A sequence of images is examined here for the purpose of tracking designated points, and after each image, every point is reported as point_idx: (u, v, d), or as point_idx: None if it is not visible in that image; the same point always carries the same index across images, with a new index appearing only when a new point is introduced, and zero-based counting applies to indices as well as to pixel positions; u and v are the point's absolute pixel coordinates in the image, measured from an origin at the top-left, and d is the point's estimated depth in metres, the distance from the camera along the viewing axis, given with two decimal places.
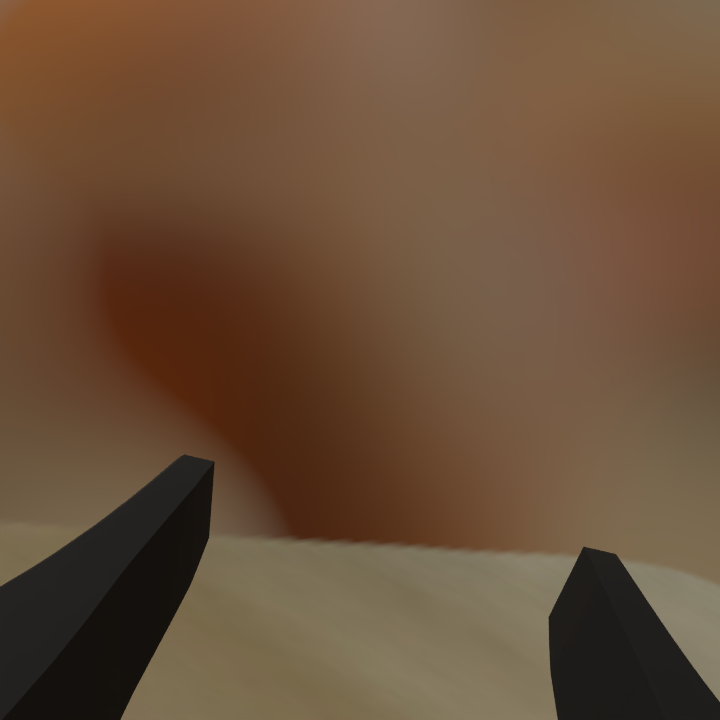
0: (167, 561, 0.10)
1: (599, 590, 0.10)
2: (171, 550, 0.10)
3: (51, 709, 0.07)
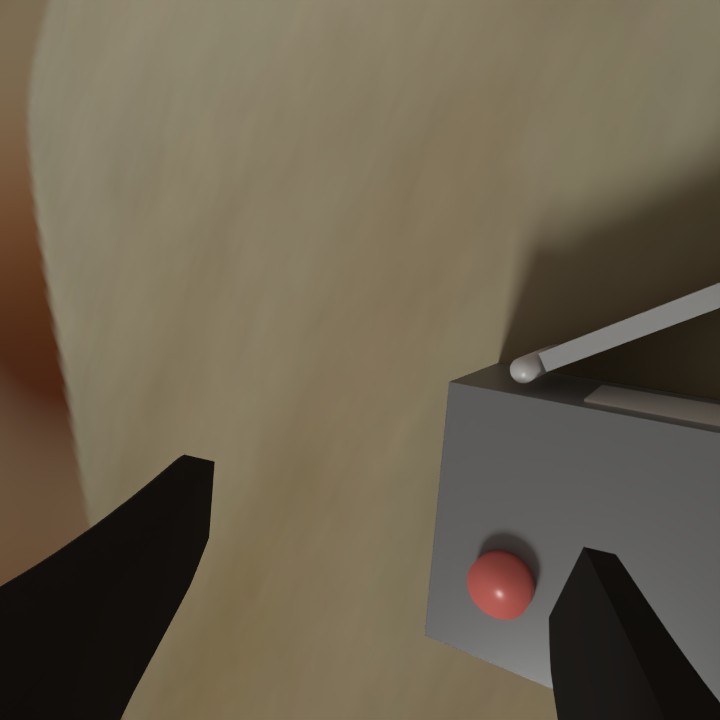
0: (167, 561, 0.10)
1: (599, 590, 0.10)
2: (171, 550, 0.10)
3: (51, 709, 0.07)
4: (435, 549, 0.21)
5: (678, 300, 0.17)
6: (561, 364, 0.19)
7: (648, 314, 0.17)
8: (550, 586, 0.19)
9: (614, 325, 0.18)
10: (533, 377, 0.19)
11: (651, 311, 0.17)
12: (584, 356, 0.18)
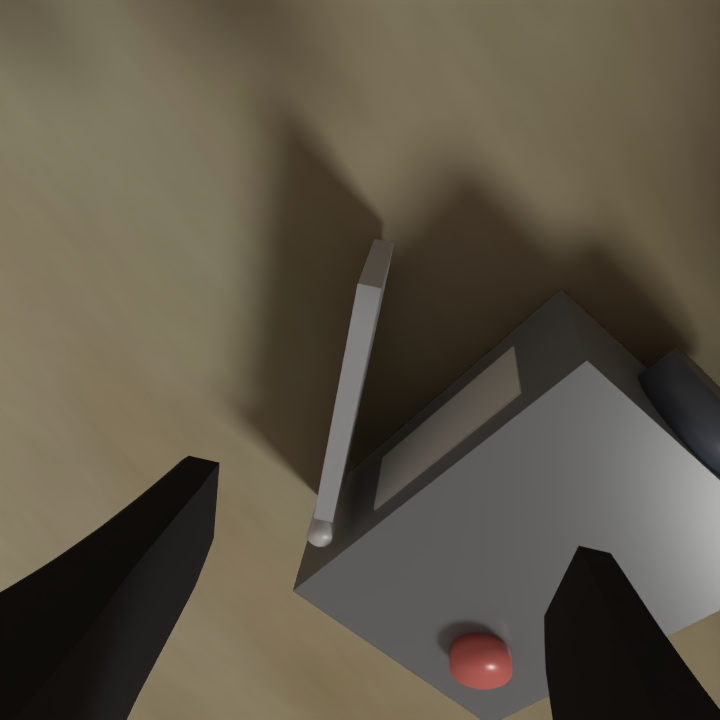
0: (172, 563, 0.10)
1: (594, 589, 0.10)
2: (176, 551, 0.10)
3: (60, 712, 0.07)
4: (424, 678, 0.22)
5: (334, 412, 0.18)
6: (333, 510, 0.19)
7: (332, 436, 0.18)
8: (505, 629, 0.20)
9: (325, 461, 0.18)
10: (330, 534, 0.20)
11: (331, 433, 0.18)
12: (337, 493, 0.19)
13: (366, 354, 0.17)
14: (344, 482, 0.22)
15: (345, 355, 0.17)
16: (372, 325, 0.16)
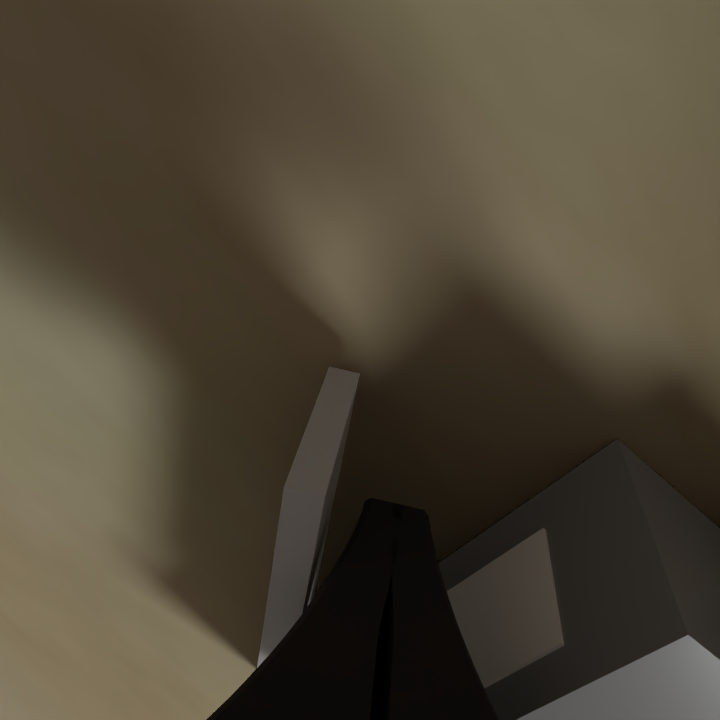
0: None
1: None
2: None
3: None
4: None
5: (260, 658, 0.11)
6: None
7: None
8: None
9: None
10: None
11: None
12: None
13: (305, 586, 0.10)
14: None
15: (271, 585, 0.10)
16: (312, 548, 0.09)
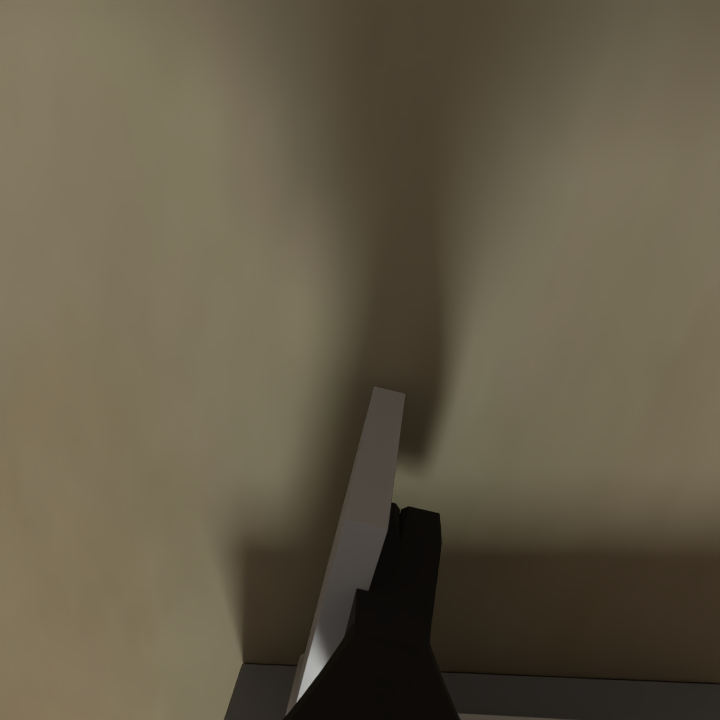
0: None
1: None
2: None
3: None
4: None
5: (302, 686, 0.11)
6: None
7: None
8: None
9: None
10: None
11: None
12: None
13: None
14: None
15: (321, 615, 0.10)
16: (369, 580, 0.09)
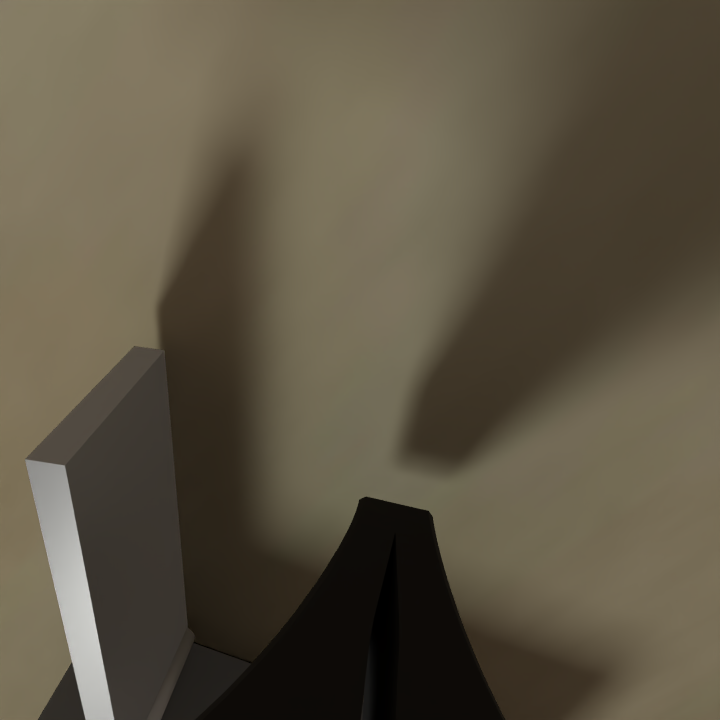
0: None
1: (393, 542, 0.11)
2: None
3: None
4: None
5: (69, 637, 0.11)
6: None
7: (79, 667, 0.11)
8: None
9: (82, 698, 0.12)
10: None
11: (75, 664, 0.11)
12: None
13: (82, 559, 0.10)
14: (173, 676, 0.15)
15: (51, 561, 0.10)
16: (73, 519, 0.09)
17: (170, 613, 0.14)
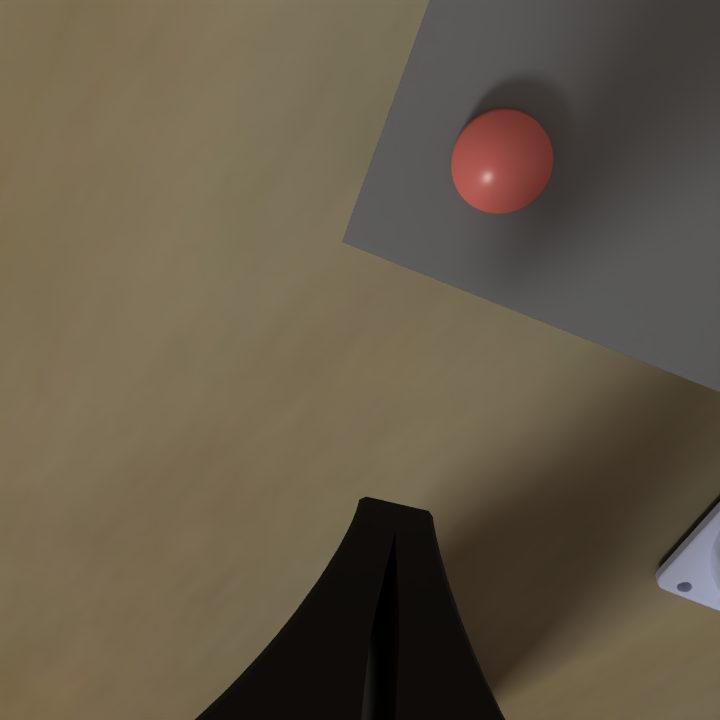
0: None
1: (394, 542, 0.11)
2: None
3: None
4: (397, 102, 0.13)
5: None
6: None
7: None
8: (570, 169, 0.13)
9: None
10: None
11: None
12: None
13: None
14: None
15: None
16: None
17: None
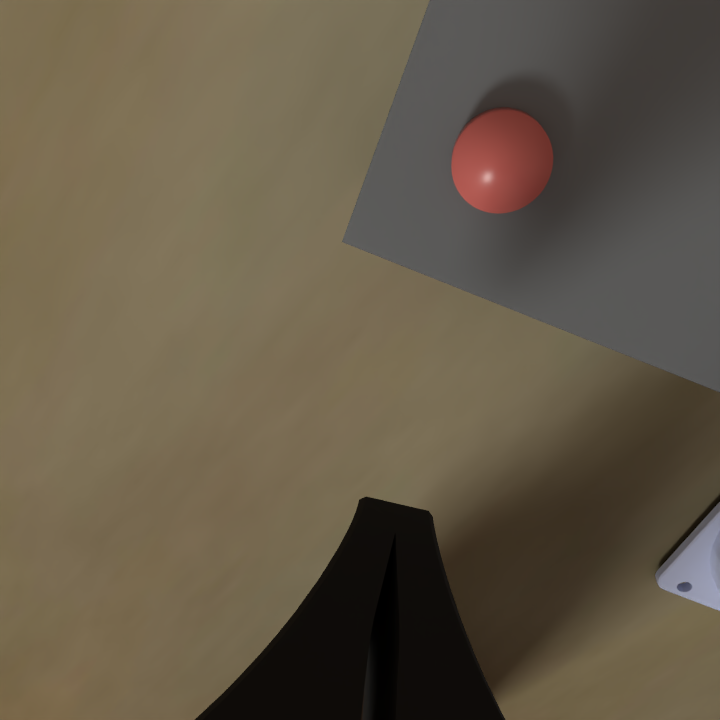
0: None
1: (394, 542, 0.11)
2: None
3: None
4: (397, 102, 0.13)
5: None
6: None
7: None
8: (570, 169, 0.13)
9: None
10: None
11: None
12: None
13: None
14: None
15: None
16: None
17: None
